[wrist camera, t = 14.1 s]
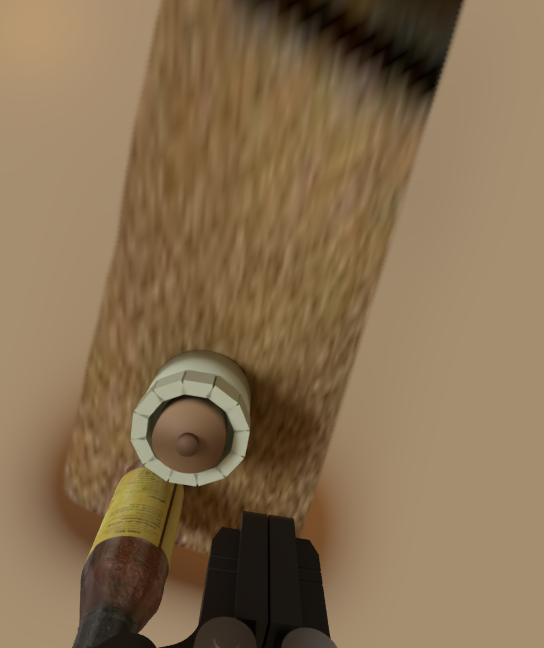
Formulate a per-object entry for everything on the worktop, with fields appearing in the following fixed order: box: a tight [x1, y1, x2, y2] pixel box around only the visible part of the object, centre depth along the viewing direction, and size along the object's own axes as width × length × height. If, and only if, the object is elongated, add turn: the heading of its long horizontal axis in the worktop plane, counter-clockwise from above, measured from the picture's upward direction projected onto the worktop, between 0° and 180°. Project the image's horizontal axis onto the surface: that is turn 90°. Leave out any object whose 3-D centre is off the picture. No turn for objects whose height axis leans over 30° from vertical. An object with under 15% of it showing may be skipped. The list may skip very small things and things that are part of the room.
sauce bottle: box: [72, 460, 185, 648], centre depth 37 cm, size 6×6×20 cm
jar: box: [131, 350, 251, 486], centre depth 41 cm, size 9×9×7 cm
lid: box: [152, 394, 228, 474], centre depth 38 cm, size 6×6×4 cm
